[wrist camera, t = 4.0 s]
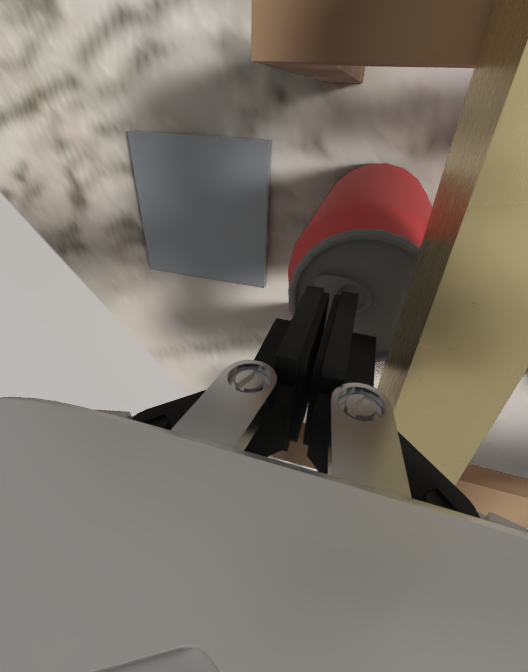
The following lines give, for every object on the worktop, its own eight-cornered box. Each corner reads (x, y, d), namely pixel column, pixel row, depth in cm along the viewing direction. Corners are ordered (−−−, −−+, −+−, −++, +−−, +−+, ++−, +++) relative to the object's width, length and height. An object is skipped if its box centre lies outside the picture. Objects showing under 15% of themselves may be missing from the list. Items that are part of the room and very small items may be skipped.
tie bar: (663, -85, 6) (911, -253, 3) (395, 497, 16) (396, 579, 13) (518, -76, 6) (618, -214, 4) (348, 484, 17) (340, 560, 14)
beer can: (354, 141, 20) (323, 177, 11) (453, 193, 20) (509, 274, 11) (305, 238, 24) (251, 327, 15) (387, 281, 24) (386, 398, 15)
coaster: (271, 140, 21) (268, 141, 21) (265, 284, 27) (263, 288, 27) (132, 130, 24) (127, 131, 23) (154, 266, 29) (150, 269, 29)
